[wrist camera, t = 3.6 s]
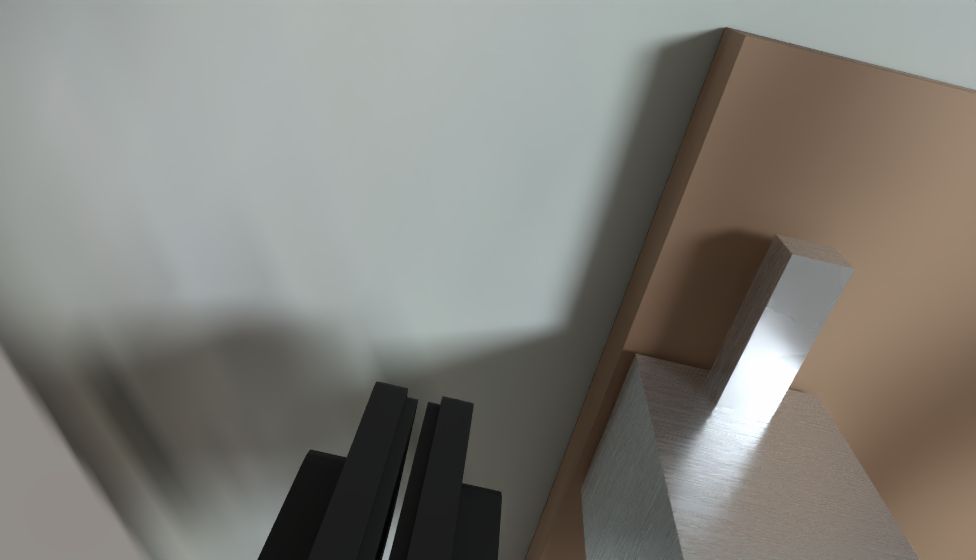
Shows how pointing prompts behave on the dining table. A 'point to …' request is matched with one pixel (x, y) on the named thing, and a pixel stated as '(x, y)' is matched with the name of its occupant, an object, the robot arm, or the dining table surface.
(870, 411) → the board
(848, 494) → the metal block with knob
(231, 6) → the dining table surface
